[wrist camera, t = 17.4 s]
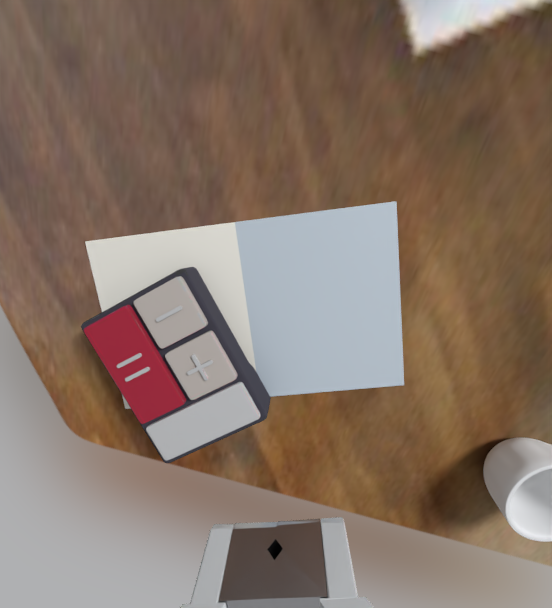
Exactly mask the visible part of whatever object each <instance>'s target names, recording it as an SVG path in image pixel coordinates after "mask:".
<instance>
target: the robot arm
mask: <svg viewBox="0 0 552 608" xmlns="http://www.w3.org/2000/svg"><path fill="white" fill-rule="evenodd" d="M321 530H322V531H321ZM180 608H374V607H373V606H372V604H371V603H370V602H369V601H368V599H367V598H366V597H358V594H357V589H356V583H355V578H354V572H353V567H352V561H351V556H350V550H349V544H348V539H347V534H346V528H345V523H344V520H343V518H342V517H338V518H323V519H321V523H320V519H307V520H293V521H279V522H268V523H235V524H214V525H213V527H212V529H211V531H210V534H209V537H208V540H207V544H206V548H205V551H204V555H203V559H202V562H201V566H200V569H199V573H198V577H197V580H196V584H195V588H194V591H193V595H192V598H191V602H190V604H183V605H182V606H181V607H180Z"/></svg>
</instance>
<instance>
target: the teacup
mask: <svg viewBox="0 0 552 608" xmlns="http://www.w3.org/2000/svg"><path fill="white" fill-rule="evenodd" d="M483 474H484V481H485V484H486V487H487V489H488V491H489V493H490V495H491V497H492V498H493V500H494V501H495V503H496V505H497V506H498V508H499V509H500V511H501V512H502V514H503V515H504V517H505V518H506V520H507V521H508V523H509V524H510V526H511V527H512V528H513V529H514V530H515V531H516V532H517V533H518V534H520V535H521V536H523V537H525V538H528V539H531V540H535V541H552V444H548V443H545V442H543V441H540V440H536V439H532V438H511V439H507V440H505V441H502V442H500V443H499V444H497V445H496V446H494V447H493V448H492V449H491V450H490V452H489V453H488V455H487V457H486V459H485V462H484V468H483Z"/></svg>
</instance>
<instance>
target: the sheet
mask: <svg viewBox="0 0 552 608" xmlns="http://www.w3.org/2000/svg"><path fill="white" fill-rule="evenodd" d="M85 244H86V248H87V252H88V256H89V260H90V264H91V269H92V273H93V277H94V281H95V285H96V289H97V293H98V298H99V302H100V306H101V310H102V312H103V311H105V310H107V309H109V308H111V307H112V306H114V305H116V304H118V303H120V302H121V301H123V300H125V299H127V298H129V297H130V296H132V295H134V294H136V293H138V292H139V291H141V290H143V289H145V288H147V287H148V286H150V285H152V284H154V283H156V282H157V281H159V280H161V279H163V278H165V277H166V276H168V275H170V274H172V273H174V272H175V271H177V270H179V269H182V268H188V267H195V268H196V269H197V270H198V272H199V274H200V276H201V277H202V279H203V281H204V283H205V285H206V286H207V288H208V290H209V292H210V294H211V295H212V297H213V299H214V301H215V303H216V304H217V306H218V308H219V310H220V312H221V313H222V315H223V317H224V319H225V321H226V322H227V324H228V326H229V328H230V329H231V331H232V333H233V335H234V337H235V338H236V340H237V342H238V344H239V346H240V347H241V349H242V351H243V353H244V355H245V356H246V358H247V360H248V362H249V363H250V364H251V365H252V366H253V367H254V369H255V371H256V372H257V374H258V376H259V378H260V379H261V381H262V383H263V385H264V387H265V388H266V390H267V392H268V394H269V396H270V397H271V396H282V395H294V394H306V393H317V392H329V391H341V390H352V389H364V388H375V387H387V386H399V385H404V371H403V347H402V323H401V299H400V275H399V252H398V228H397V204H396V202H388V203H380V204H372V205H365V206H357V207H349V208H341V209H334V210H326V211H318V212H310V213H303V214H295V215H287V216H279V217H272V218H264V219H256V220H248V221H241V222H233V223H225V224H217V225H210V226H202V227H194V228H186V229H179V230H171V231H163V232H155V233H148V234H140V235H132V236H124V237H117V238H109V239H101V240H93V241H86V242H85ZM122 397H123V395H122ZM123 401H124V405H125V409H131V408H130V406H129V405H128V403H127V401H126V400H125V398H124V397H123Z"/></svg>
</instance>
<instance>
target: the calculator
mask: <svg viewBox="0 0 552 608" xmlns="http://www.w3.org/2000/svg"><path fill="white" fill-rule="evenodd" d="M81 328H82V330H83V332H84V333H85V335H86V337H87V338H88V340H89V342H90V343H91V345H92V346H93V348H94V350H95V351H96V353H97V355H98V356H99V358H100V359H101V361H102V363H103V364H104V366H105V367H106V369H107V371H108V372H109V374H110V376H111V377H112V379H113V380H114V382H115V384H116V385H117V387H118V388H119V390H120V392H121V393H122V395H123V397H124V398H125V400H126V401H127V403H128V405H129V406H130V408H131V410H132V411H133V413H134V414H135V416H136V418H137V419H138V421H139V422H140V424H141V426H142V427H143V429H144V431H145V432H146V434H147V435H148V437H149V439H150V440H151V442H152V444H153V445H154V447H155V448H156V450H157V452H158V453H159V455H160V456H161V458H162V460H163V461H164V462H165V463H170V462H173V461H175V460H177V459H179V458H182V457H184V456H186V455H188V454H190V453H193V452H195V451H197V450H199V449H201V448H204V447H206V446H208V445H210V444H212V443H215V442H217V441H219V440H221V439H223V438H226V437H228V436H230V435H232V434H234V433H237V432H239V431H241V430H243V429H245V428H248V427H250V426H252V425H254V424H256V423H259V422H261V421H263V420H265V419H266V418H267V414H268V409H269V404H270V396H269V394H268V392H267V390H266V388H265V387H264V385H263V383H262V381H261V379H260V378H259V376H258V374H257V372H256V371H255V369H254V367H253V366H252V365H251V364H250V363H249V362H248V360H247V358H246V356H245V355H244V353H243V351H242V349H241V347H240V346H239V344H238V342H237V340H236V338H235V337H234V335H233V333H232V331H231V329H230V328H229V326H228V324H227V322H226V321H225V319H224V317H223V315H222V313H221V312H220V310H219V308H218V306H217V304H216V303H215V301H214V299H213V297H212V295H211V294H210V292H209V290H208V288H207V286H206V285H205V283H204V281H203V279H202V277H201V276H200V274H199V272H198V270H197V269H196V268H195V267H188V268H182V269H179V270H177V271H175V272H174V273H172V274H170V275H168V276H166V277H165V278H163V279H161V280H159V281H157V282H156V283H154V284H152V285H150V286H148V287H147V288H145V289H143V290H141V291H139V292H138V293H136V294H134V295H132V296H130V297H129V298H127V299H125V300H123V301H121V302H120V303H118V304H116V305H114V306H112V307H111V308H109V309H107V310H105V311H103V312H102V313H100V314H98V315H96V316H95V317H93V318H91V319H89V320H87V321H86V322H84V323H83V324H82V326H81Z"/></svg>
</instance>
